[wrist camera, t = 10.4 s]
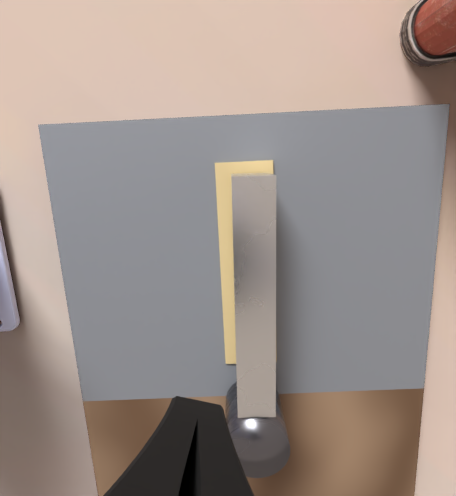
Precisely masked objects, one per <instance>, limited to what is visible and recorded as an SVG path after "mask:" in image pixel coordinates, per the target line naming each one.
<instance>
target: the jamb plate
mask: <svg viewBox="0 0 456 496" xmlns="http://www.w3.org/2000/svg"><path fill="white" fill-rule="evenodd" d="M423 393H424V388H420V389H394V390H368V391H341V392H315V393H289V394H279V396H280V401H281V406H282V410H283V415H284V420H285V425H286V430H287V434H288V439H289V444H290V456H289V459H288V461H287V463H286V465H285V466H284V467H283V468H282V469H281V470H280V471H278V472H277V473H275V474H273V475H271V476H268V477H264V478H250V477H246V478H247V480H248V482H249V485H250V487H251V489H252V491H253V494H254V496H414V492H415V481H416V470H417V459H418V448H419V437H420V426H421V415H422V404H423ZM185 398H190V399H195V400H199V401H204V402H209V403H214V404H219V405H221V406H222V408H223V409H224V414H225V402H226V396H210V397H185ZM171 400H172V398H157V399H131V400H105V401H83V405H84V411H85V417H86V423H87V429H88V435H89V442H90V448H91V454H92V460H93V466H94V472H95V479H96V485H97V491H98V496H103V495H104V494H105V493H106V492H107V491H108V490H109V489H110V487H111V486H112V485H113V484H114V483H115V482H116V481H117V480H118V478H119V477H120V476H121V475H122V474H123V472H124V471H125V470H126V469H127V467H128V466H129V465H130V464H131V462H132V461H133V460H134V459H135V457H136V456H137V455H138V454H139V452H140V451H141V450H142V448H143V447H144V445H145V444H146V443H147V441H148V440H149V438H150V437H151V436H152V434H153V433H154V431H155V430H156V428H157V427H158V425H159V423H160V422H161V420H162V419H163V417H164V415H165V413H166V411H167V409H168V407H169V405H170V403H171Z"/></svg>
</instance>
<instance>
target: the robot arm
mask: <svg viewBox="0 0 456 496" xmlns="http://www.w3.org/2000/svg"><path fill="white" fill-rule="evenodd" d="M0 320H1V322H2V324H0V332H1V331H12V330H13V329H15V328H16V327H17V326H18V325H19V323H20V318H19V313H18V308H17V303H16V298H15V293H14V288H13V283H12V278H11V273H10V268H9V263H8V257H7V252H6V247H5V242H4V237H3V232H2V227H1V222H0ZM103 496H254V494H253V491H252V489H251V487H250V485H249V482H248V480H247V478H246V475H245V473H244V470H243V468H242V465H241V463H240V460H239V457H238V455H237V452H236V449H235V447H234V444H233V441H232V438H231V435H230V432H229V428H228V425H227V422H226V418H225V414H224V409H223V408H222V406H221V405H219V404H214V403H209V402H204V401H199V400H195V399H190V398H185V397H180V396H176V397H174V398H172V400H171V403H170V405H169V407H168V409H167V411H166V413H165V415H164V417H163V419H162V420H161V422H160V423H159V425H158V427H157V428H156V430H155V431H154V433H153V434H152V436H151V437H150V438H149V440H148V441H147V443H146V444H145V445H144V447H143V448H142V450H141V451H140V452H139V454H138V455H137V456H136V457H135V459H134V460H133V461H132V462H131V464H130V465H129V466H128V467H127V469H126V470H125V471H124V472H123V474H122V475H121V476H120V477H119V478H118V480H117V481H116V482H115V483H114V484H113V485H112V486H111V487H110V489H109V490H108V491H107V492H106V493H105V494H104V495H103Z"/></svg>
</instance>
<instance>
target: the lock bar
mask: <svg viewBox="0 0 456 496" xmlns="http://www.w3.org/2000/svg"><path fill="white" fill-rule="evenodd" d="M231 186H232V224H233V262H234V300H235V338H236V376H237V382H235V383H234V384H233V385H232V386H231V387H230V389H229V390H228V392H227V395H226V402H225V418H226V422H227V425H228V428H229V432H230V435H231V438H232V441H233V444H234V447H235V449H236V452H237V455H238V457H239V460H240V463H241V465H242V468H243V470H244V473H245V475H246V477H250V478H264V477H268V476H271V475H273V474H275V473H277V472H278V471H280V470H281V469H282V468H283V467H284V466H285V465H286V463H287V461H288V459H289V456H290V444H289V439H288V434H287V430H286V425H285V420H284V415H283V410H282V406H281V401H280V396H279V393H278V391H277V389H276V175H274V174H271V173H234V174H231Z"/></svg>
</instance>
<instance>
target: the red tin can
mask: <svg viewBox="0 0 456 496" xmlns="http://www.w3.org/2000/svg"><path fill="white" fill-rule="evenodd" d="M400 43H401V47H402V49H403V52H404V54H405V56H406V57H407V58H408V59H409V60H410V61H411V62H412V63H414V64H416V65H419V66H432V65H437V64H442V63H447V62H452V61H456V0H420V1H419V2H418V3H417V4H415V5H414V6H413V7H412V8H411V9H410V10H409V11H408V12H407V13H406V15H405V17H404V19H403V21H402V23H401V29H400Z"/></svg>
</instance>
